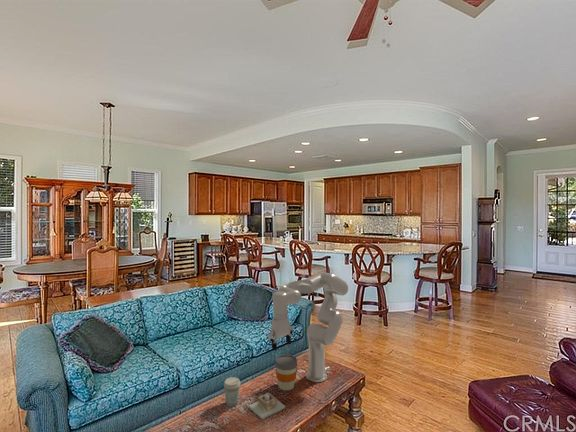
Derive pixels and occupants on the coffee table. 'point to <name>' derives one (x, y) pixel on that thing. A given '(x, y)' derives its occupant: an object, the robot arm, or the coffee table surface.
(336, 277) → the robot arm
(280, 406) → the post block
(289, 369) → the reusable coffee cup
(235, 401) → the coffee cup
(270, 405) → the ring
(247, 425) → the coffee table surface
